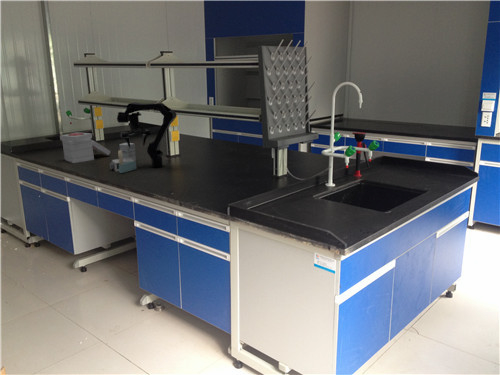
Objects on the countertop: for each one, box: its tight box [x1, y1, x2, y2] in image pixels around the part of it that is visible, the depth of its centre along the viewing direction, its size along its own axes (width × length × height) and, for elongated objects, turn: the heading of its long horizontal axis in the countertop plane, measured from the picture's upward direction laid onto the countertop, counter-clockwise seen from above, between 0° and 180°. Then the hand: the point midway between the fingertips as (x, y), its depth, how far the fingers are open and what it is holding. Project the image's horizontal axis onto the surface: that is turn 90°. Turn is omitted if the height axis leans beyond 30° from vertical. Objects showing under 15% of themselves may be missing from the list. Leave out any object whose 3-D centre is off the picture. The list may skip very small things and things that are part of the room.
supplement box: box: [118, 142, 137, 162], centre depth 294 cm, size 7×7×13 cm
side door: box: [117, 149, 138, 174], centre depth 268 cm, size 13×2×14 cm, turn 145°
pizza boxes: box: [59, 131, 112, 164], centre depth 306 cm, size 19×30×18 cm, turn 133°
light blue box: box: [109, 158, 134, 172], centre depth 276 cm, size 14×10×6 cm
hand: (136, 146), depth 280 cm, fingers open, 9 cm apart
